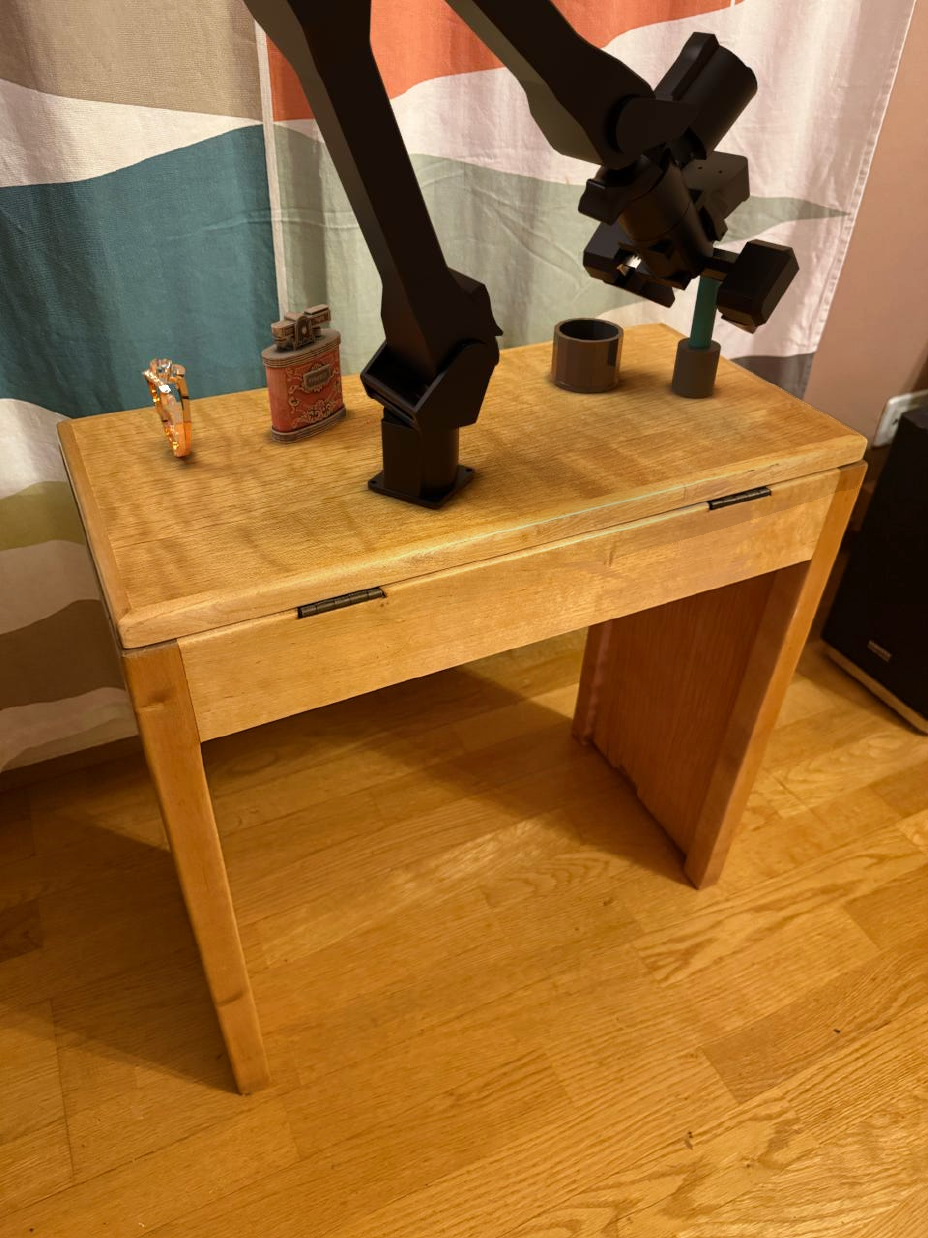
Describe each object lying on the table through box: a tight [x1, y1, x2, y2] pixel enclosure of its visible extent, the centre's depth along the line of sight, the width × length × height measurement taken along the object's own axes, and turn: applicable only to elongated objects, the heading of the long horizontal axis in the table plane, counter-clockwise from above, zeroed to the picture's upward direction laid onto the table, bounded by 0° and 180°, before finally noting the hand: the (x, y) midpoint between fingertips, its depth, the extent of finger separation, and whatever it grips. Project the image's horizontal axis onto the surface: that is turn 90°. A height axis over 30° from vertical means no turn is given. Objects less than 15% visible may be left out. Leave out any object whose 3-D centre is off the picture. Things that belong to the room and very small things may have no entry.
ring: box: [141, 358, 192, 458], centre depth 74 cm, size 7×3×8 cm, turn 27°
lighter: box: [260, 303, 347, 444], centre depth 78 cm, size 8×3×10 cm, turn 143°
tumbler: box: [550, 317, 625, 394], centre depth 88 cm, size 7×7×5 cm
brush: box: [670, 276, 722, 399], centre depth 85 cm, size 4×4×12 cm
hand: (711, 315), depth 85 cm, fingers open, 9 cm apart
